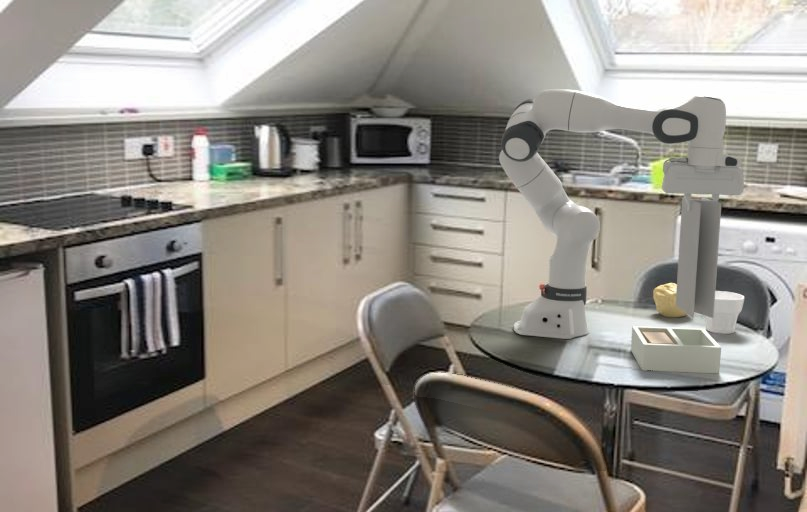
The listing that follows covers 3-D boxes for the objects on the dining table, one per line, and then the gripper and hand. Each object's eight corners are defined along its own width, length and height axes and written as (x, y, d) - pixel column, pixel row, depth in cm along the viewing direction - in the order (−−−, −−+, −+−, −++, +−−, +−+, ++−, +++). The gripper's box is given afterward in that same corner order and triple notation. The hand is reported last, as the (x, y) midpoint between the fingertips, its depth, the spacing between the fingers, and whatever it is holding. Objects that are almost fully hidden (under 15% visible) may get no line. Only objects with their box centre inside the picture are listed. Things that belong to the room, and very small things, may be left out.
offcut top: (650, 355, 229) (651, 343, 228) (641, 344, 240) (642, 331, 239) (673, 356, 229) (674, 343, 228) (663, 344, 239) (664, 332, 239)
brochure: (713, 318, 225) (721, 203, 220) (692, 317, 225) (699, 203, 220) (695, 305, 239) (702, 197, 234) (675, 305, 239) (682, 197, 234)
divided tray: (642, 370, 226) (643, 344, 225) (630, 350, 244) (632, 326, 243) (719, 373, 224) (721, 347, 223) (702, 352, 242) (704, 328, 241)
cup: (703, 322, 275) (706, 289, 273) (744, 328, 269) (747, 293, 267) (694, 331, 264) (697, 296, 262) (737, 337, 258) (740, 301, 256)
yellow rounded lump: (646, 312, 288) (648, 280, 286) (678, 310, 291) (680, 278, 289) (665, 320, 277) (667, 287, 275) (698, 318, 280) (700, 286, 278)
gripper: (666, 158, 223) (662, 211, 226) (748, 160, 221) (743, 214, 224) (661, 156, 229) (657, 208, 232) (741, 158, 227) (736, 211, 230)
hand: (700, 211), depth 228 cm, fingers closed on brochure, 3 cm apart
